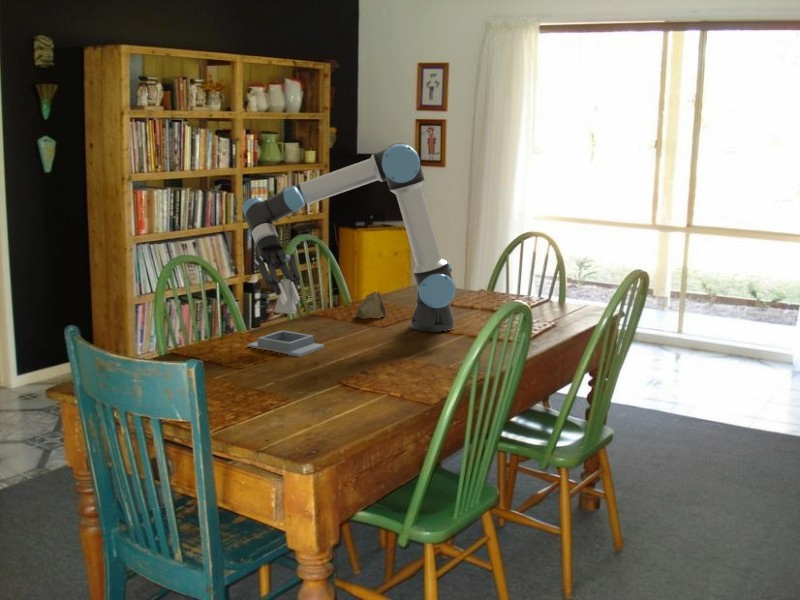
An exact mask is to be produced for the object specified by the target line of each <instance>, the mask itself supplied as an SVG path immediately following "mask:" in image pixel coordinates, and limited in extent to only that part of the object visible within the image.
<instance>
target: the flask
mask: <svg viewBox="0 0 800 600" xmlns="http://www.w3.org/2000/svg"><path fill="white" fill-rule="evenodd" d="M279 283H281V284H282V287H283V290H284V292H285V295H286V297H287V302H286V304H285V305H282V302H281V300H280V297H279V296H278V298H277V301H276V303H275V308H274V311H273V313H275V314H276V313H278V314H294V313H296V312H297V306H296V304H295V303H294V300H293V298H292V295H291V292H290V286H289V283H290V280H289V279H286V278H285V279H283V278H282V279H280V282H279Z"/></svg>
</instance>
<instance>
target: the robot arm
mask: <svg viewBox="0 0 800 600" xmlns="http://www.w3.org/2000/svg"><path fill="white" fill-rule="evenodd" d="M420 163H421V159H420V156H419V154H418V152H417V151H416V150H415V149H414V148H413V147H412V146H411V145H410V144H407V143H403V142H396V143H393V144H391V145H389V146H387V147H386V148H384V149H382V150H380V151H377V152H376V153H373V154H371V156H370V158H368V159H365V160H362V161H360V162H357V163H353V164H351V165H348V166H345V167H342V168H340V169H336V170H334V171H332V172H329V173H328V172H327V173H326V174H323V175H319V176H317V177H314V178H311V179H307V181H306V180H305V181H303V182H299V184H295V185H292V186H286V187H285V188H283V189H281V190H280V191H279V192H278V193H277V194H275V195H273V196H271V197H269V198H266V199H265V200H264V199H262V197H254V198H249V199H247V200H246V201H245V202H244V203H243V205H242V212H243V215H244V219H245V222H246V224H247V226H248V229H249V230H250V233H251V236H252V238H253V241H254V244H255V246H256V249H257V251H258V254H259V256H256V257H255V259H254V261H253V264H254V265H255V266H256V267H257V269H258V270H259V273H260V275H261V278H262V280H263V281H264V284H265V285H266V287H270V288H271V289H272V290H273V291H274V293H275V295H276V296H278V298H279V297H280V300H281V302H282V305H285V304H286V302H287V297H286V295H285V292H284V290H283V287H282V284H281V282H279V280H278V274H277V270H276V269H277V268H278V270H280V271H281V273H282V274H283V276H284V278H285V279H289V280H290V283H289V286H290V292H291V295H292V298H293V301H294V304H295V305H298V303H299V301H300V299H301V298H300V296H299V288H298V283H299V282H300V279H301V276H300V273H299V271H298V268H297V265H296V261H295V254H293V253H291V254H286V252H285V251H284V250H283V245H282V242H281V241H280V237H279V235H278V232H277V231H276V228H275V226H274V223H275V222H277V221H279V220H281V219H282V218H284V217H287V216H289V215H291V214H293V213H295V212H298V211H300V210H301V209H302V208H303V207H307V206H308V205H311V204H314V203H316V202H320V201H322V200H325V199H327V198H330V197H333V196H336V195H339V194H341V193H345V192H347V191H351V190H353V189H354V190H355V189H356V188H360V187H361V186H364V185H365V186H366V185H368V184H370V183H374V182H377V181H379V182H381V183H382V182H387V186H388V190H389V191H390V192H391V193H393V194H394V195H395V196H396V199H397V203H398V205H399V206H398V207H399V209H400V210H399V211H400V213H401V217H402V221H403V224H404V228H405V231H406V234H407V237H408V242H409V245H410V248H411V252H412V255H413V259H414V262H415V266H414V269H413V271H412V272H413V277H414V278H415V283H416V305H415V308H414V311H413V313H412V317H411V321H410V328H411V329H413V330H415V331H420V332H425V331H427V333H428V332H429V333H442V332H441V331H445V330H448V329H452V328H454V327H455V328H456V326H455V324H456V322H455V321H456V320H455V318H454V315H453V311H452V307H451V303H452V301H453V300H454V298H455V295H456V290H457V288H456V284H455V282H454V280H453V276H452V271H453V269H452V264H451V263H450V262H448V260H446V259H445V258H442V255H441V252H440V247H439V244H438V241H437V240H438V239H437V237H436V234H435V230H434V226H433V222H432V219H431V216H430V211H429V209H428V206H427V201H426V198H425V195H424V190H423V188H422V187H423V185H424V184H425V181H426V180H425V177H424V173H423V170H422V165H421V164H420ZM266 265H267V267H266ZM276 267H277V268H276ZM455 328H454V329H455ZM445 332H446V331H445Z"/></svg>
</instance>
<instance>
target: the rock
mask: <svg viewBox="0 0 800 600" xmlns="http://www.w3.org/2000/svg"><path fill="white" fill-rule="evenodd" d="M383 316H387V312H386V307H385V305H384V302H383V298H382V295H380V292H376V291H373V292H370V293H369V294H367V295H366V296H365V298H364V299H363V300H362V301H361V303H360V304H359V305H358V306H357V310H356V313H355V318H356V317H383Z"/></svg>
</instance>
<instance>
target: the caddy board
mask: <svg viewBox="0 0 800 600" xmlns="http://www.w3.org/2000/svg"><path fill="white" fill-rule="evenodd" d="M246 345H247V346H248V347H255V348H261V349H266V350H272V351H276V352H281V353H286V354H288V355H287V356H292V357H296V358H301V357H304V356H305V355H306V356H307V355H309V354H312V353H314V352H317V351H320V350H323V349H325V344H323V343H322V344H321V343H315V336H314V335H313V334H305V333H301V332H296V331H295V332H294V331H288V330H279V331H275V332H273V333H269V334H267V335H263V336H260V337H259V336H258V337H257V341H254V342H251V343H250V342H249V343H247V344H246ZM286 354H285V355H286Z"/></svg>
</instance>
